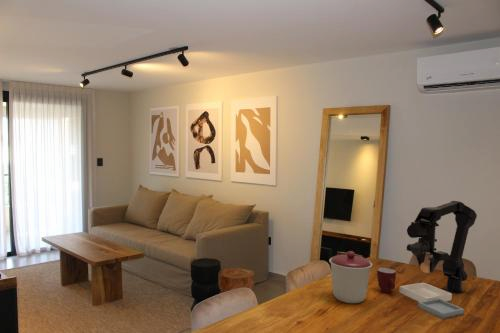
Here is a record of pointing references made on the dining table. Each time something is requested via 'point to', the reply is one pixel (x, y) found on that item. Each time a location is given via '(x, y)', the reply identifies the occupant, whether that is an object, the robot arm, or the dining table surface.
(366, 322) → the dining table surface
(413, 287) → the dish
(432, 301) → the tray
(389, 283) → the mug
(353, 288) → the canister
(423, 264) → the ball
